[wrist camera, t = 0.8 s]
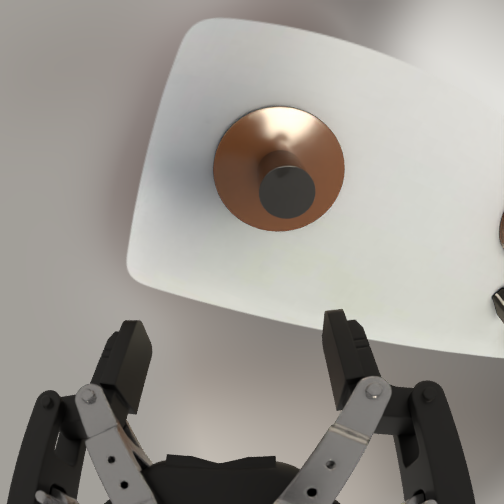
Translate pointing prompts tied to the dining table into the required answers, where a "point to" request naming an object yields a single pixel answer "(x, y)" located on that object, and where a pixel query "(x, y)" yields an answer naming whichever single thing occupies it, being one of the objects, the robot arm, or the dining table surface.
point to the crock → (502, 231)
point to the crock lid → (278, 168)
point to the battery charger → (499, 304)
